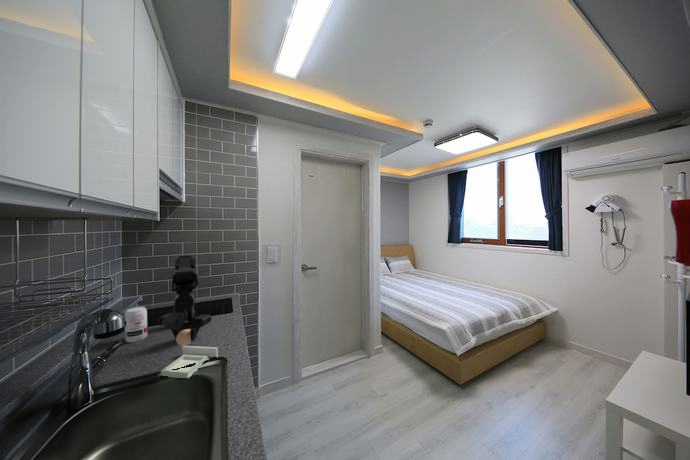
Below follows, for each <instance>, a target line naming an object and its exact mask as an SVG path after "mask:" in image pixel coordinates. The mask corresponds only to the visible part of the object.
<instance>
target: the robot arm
mask: <svg viewBox="0 0 690 460" xmlns="http://www.w3.org/2000/svg"><path fill="white" fill-rule="evenodd" d="M196 263H197V262H196V258H194V257H192V255H189V254H186V255H184V254H183V255H179V256H178V258H177V259H175V260H174V274H172V278H171V279H172V285H171V286H172V290H171V291H172V292H173V293H174V292H175V299H174V306H173V308H172V312H169V313H167V314H164V315H162V316H160V317H158V320H157V325H158V326H163V328H164V329H166V330H168V329H169V330H170V331H171V333H172V334H173V336H174V339H175V340H176V337H177V335H178V333H179V332H180V331H182V330H184V329H190V330H191V343H193V342H194V341H195V340H196V338H197V336H198V334H199V331H200V329H201V328H202V327H204V326H206V325H207V324H209V323H211V322H212V316H211V315H210V314H200V315H198V316H197V312H196V311H195V309H194V307H195V306H196V305H197V302H195V300H194V299H195V298H194V290H197V286H199V279H198V278H199V277H198V275H197V272H195V270H196V267H197V264H196Z"/></svg>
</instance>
